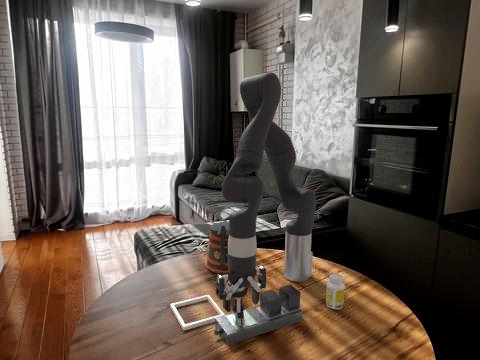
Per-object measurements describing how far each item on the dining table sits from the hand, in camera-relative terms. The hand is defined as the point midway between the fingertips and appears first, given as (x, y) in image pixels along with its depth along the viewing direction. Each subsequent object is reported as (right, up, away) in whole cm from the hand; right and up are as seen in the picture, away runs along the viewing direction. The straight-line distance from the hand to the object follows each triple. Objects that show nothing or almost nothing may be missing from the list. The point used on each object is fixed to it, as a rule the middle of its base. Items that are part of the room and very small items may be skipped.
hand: (241, 306), depth 92 cm
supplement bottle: (+29, -5, +14) cm, 33 cm away
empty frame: (-13, -5, +9) cm, 17 cm away
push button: (-1, -4, +1) cm, 4 cm away
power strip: (+5, -6, +4) cm, 9 cm away
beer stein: (-6, 0, +38) cm, 39 cm away
